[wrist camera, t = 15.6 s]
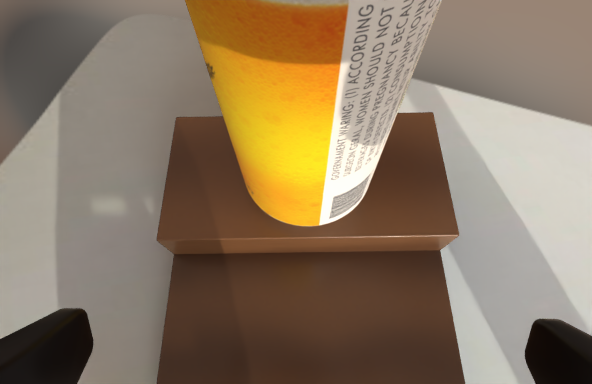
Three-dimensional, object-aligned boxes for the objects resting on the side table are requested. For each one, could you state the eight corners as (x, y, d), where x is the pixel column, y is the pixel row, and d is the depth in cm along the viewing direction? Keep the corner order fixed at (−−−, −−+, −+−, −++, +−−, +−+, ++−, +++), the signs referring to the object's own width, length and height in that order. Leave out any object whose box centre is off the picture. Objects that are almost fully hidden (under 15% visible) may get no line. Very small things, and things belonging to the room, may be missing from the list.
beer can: (309, 104, 19) (325, -477, 6) (393, 176, 18) (711, -443, 4) (221, 171, 18) (-39, -425, 4) (304, 259, 16) (317, -321, 2)
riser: (452, 400, 17) (498, 414, 13) (168, 404, 18) (127, 418, 13) (410, 154, 23) (433, 111, 19) (197, 158, 23) (175, 116, 19)
